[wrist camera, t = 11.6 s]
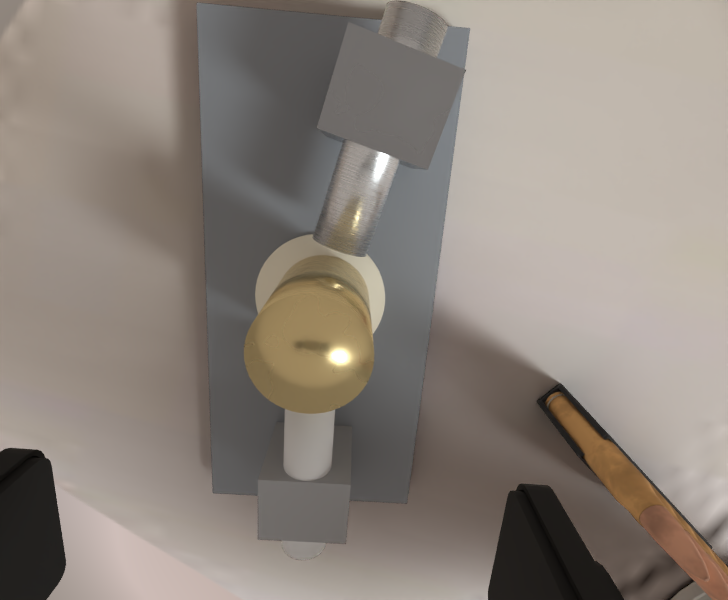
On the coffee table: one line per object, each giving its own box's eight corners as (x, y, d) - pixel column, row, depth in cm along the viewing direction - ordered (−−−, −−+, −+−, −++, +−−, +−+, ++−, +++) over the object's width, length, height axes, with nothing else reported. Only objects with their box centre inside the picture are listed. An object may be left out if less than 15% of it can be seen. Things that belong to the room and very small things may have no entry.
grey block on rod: (383, 247, 22) (389, 269, 17) (300, 219, 21) (285, 233, 17) (451, 62, 19) (480, 30, 15) (360, 24, 19) (360, -21, 14)
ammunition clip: (535, 400, 26) (670, 579, 15) (559, 382, 26) (717, 550, 15) (631, 501, 29) (811, 721, 17) (654, 485, 29) (854, 699, 17)
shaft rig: (404, 486, 28) (417, 573, 22) (220, 476, 28) (182, 562, 22) (462, 37, 20) (505, -16, 14) (208, 13, 20) (144, -51, 14)
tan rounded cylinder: (372, 258, 22) (379, 299, 15) (365, 345, 23) (369, 417, 17) (277, 251, 22) (243, 290, 15) (276, 339, 23) (244, 410, 16)
